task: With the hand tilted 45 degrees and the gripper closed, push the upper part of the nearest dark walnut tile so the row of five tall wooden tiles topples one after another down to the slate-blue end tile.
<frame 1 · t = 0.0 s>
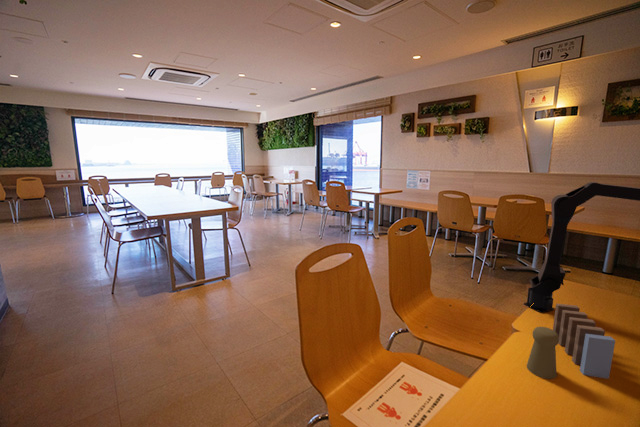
walnut tile 2: (570, 345, 84), on the table
walnut tile 4: (585, 364, 77), on the table
slate end tile: (594, 374, 73), on the table
walnut tile 3: (577, 354, 81), on the table
pepper shaker: (541, 371, 75), on the table
walnut tile 1: (563, 337, 88), on the table
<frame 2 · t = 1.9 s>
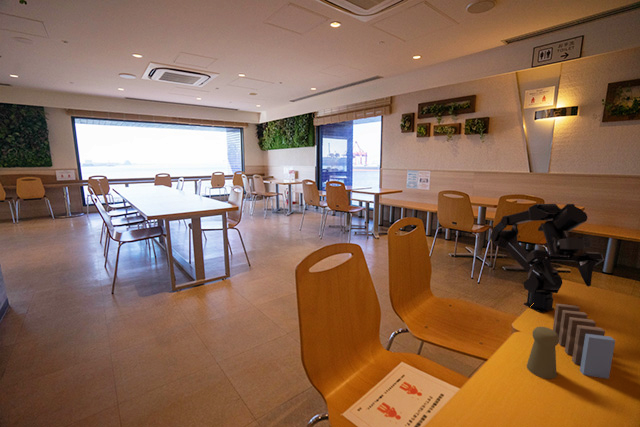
hand: (571, 285, 89), 15 cm above the table, tool tilted 40°, fingers open, 9 cm apart
nothing on the table moved.
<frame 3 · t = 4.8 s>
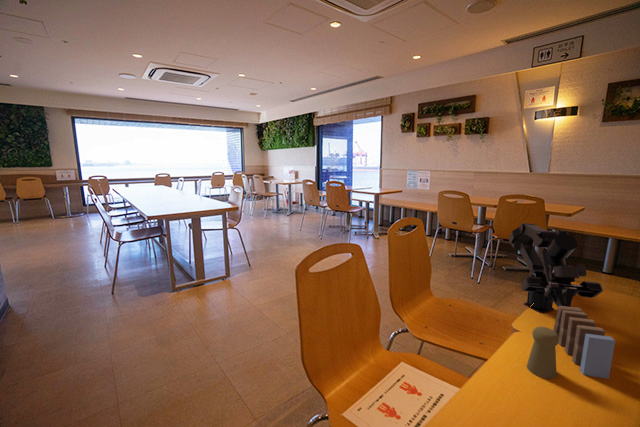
hand: (566, 314, 87), 7 cm above the table, tool tilted 45°, fingers closed
walnut tile 1: (563, 337, 88), on the table, tilted 9°
everything else where it was.
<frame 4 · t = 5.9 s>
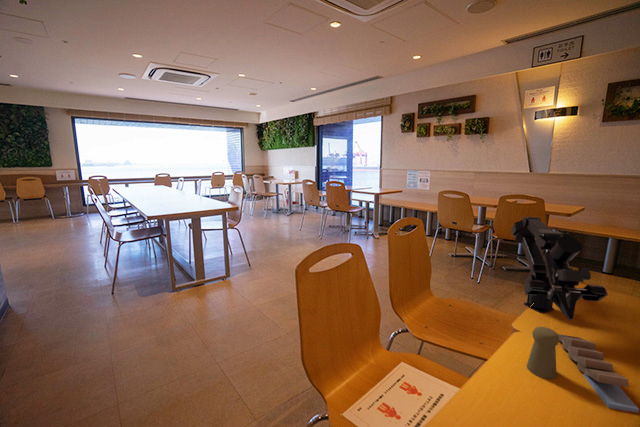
hand: (570, 319, 85), 7 cm above the table, tool tilted 45°, fingers closed
walnut tile 2: (573, 347, 83), point 1 cm above the table, tilted 67°, touching walnut tile 3
walnut tile 4: (589, 367, 74), point 1 cm above the table, tilted 69°, touching walnut tile 3
slate end tile: (596, 377, 72), on the table, tilted 90°
walnut tile 3: (580, 356, 79), point 1 cm above the table, tilted 67°, touching walnut tile 2, walnut tile 4
walnut tile 1: (567, 338, 87), point 1 cm above the table, tilted 68°
everything else where it was.
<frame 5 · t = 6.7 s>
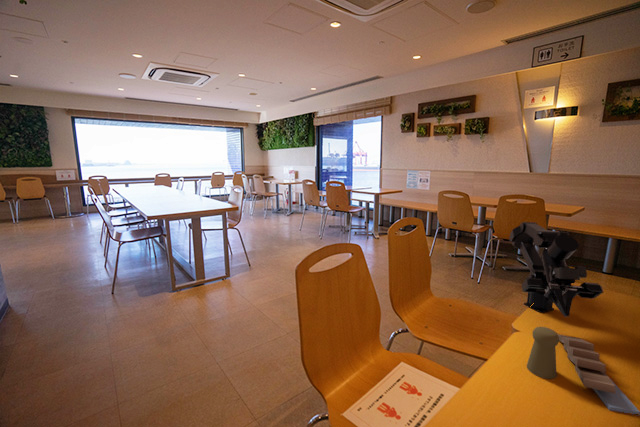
hand: (566, 316, 87), 7 cm above the table, tool tilted 45°, fingers closed
walnut tile 2: (575, 348, 82), point 1 cm above the table, tilted 68°, touching walnut tile 1, walnut tile 3
walnut tile 4: (588, 368, 73), point 1 cm above the table, tilted 77°, touching slate end tile, walnut tile 3
slate end tile: (596, 379, 72), on the table, tilted 90°, touching walnut tile 4
walnut tile 3: (579, 357, 78), point 1 cm above the table, tilted 68°, touching walnut tile 2, walnut tile 4
walnut tile 1: (568, 339, 86), point 1 cm above the table, tilted 68°, touching walnut tile 2
everything else where it was.
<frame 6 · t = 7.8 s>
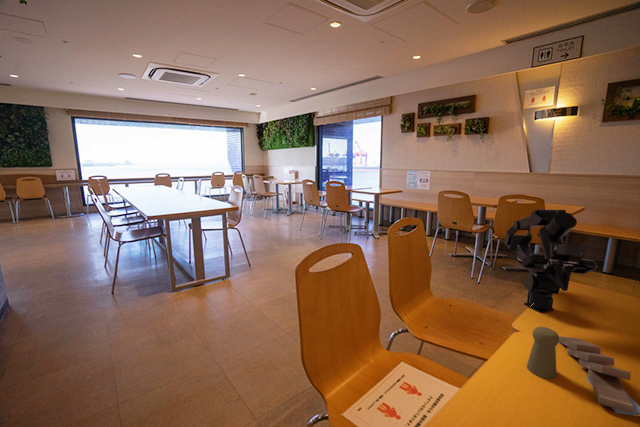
hand: (565, 290, 90), 13 cm above the table, tool tilted 40°, fingers closed
walnut tile 2: (578, 352, 80), point 1 cm above the table, tilted 66°, touching walnut tile 1
walnut tile 4: (602, 375, 70), point 2 cm above the table, tilted 90°, touching slate end tile
walnut tile 3: (591, 364, 75), point 1 cm above the table, tilted 64°
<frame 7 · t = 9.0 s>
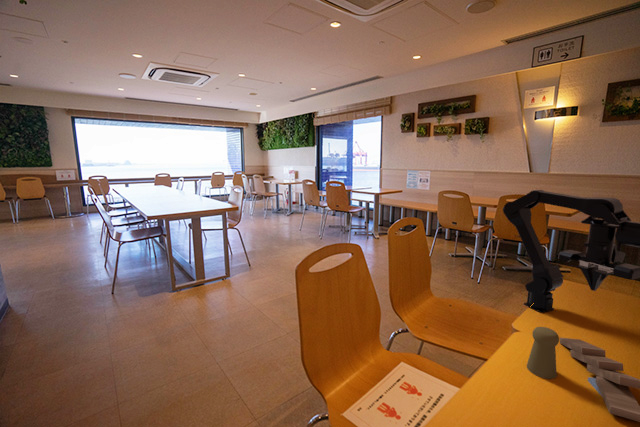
hand: (593, 290, 91), 12 cm above the table, tool pointing down, fingers closed
walnut tile 4: (610, 382, 68), point 2 cm above the table, tilted 90°, touching walnut tile 3
slate end tile: (600, 381, 71), on the table, tilted 90°
walnut tile 3: (598, 369, 73), point 1 cm above the table, tilted 68°, touching walnut tile 4
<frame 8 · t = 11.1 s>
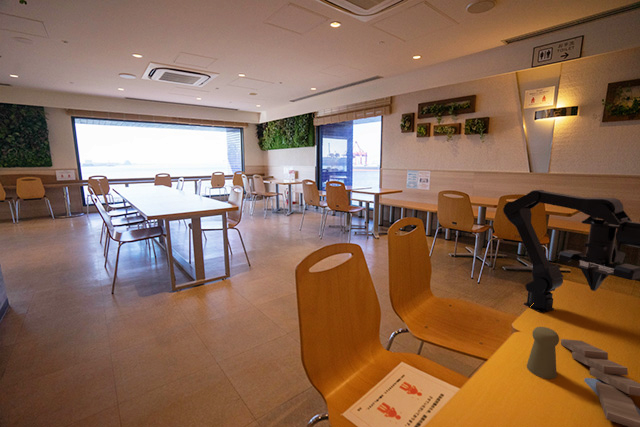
hand: (593, 290, 92), 12 cm above the table, tool pointing down, fingers closed
walnut tile 2: (582, 355, 79), point 1 cm above the table, tilted 73°, touching walnut tile 1, walnut tile 3
walnut tile 4: (611, 388, 67), point 2 cm above the table, tilted 90°, touching slate end tile
slate end tile: (596, 382, 71), on the table, tilted 90°, touching walnut tile 4
walnut tile 3: (600, 372, 72), point 1 cm above the table, tilted 73°, touching walnut tile 2
at the end: slate end tile tilted 90°; walnut tile 1 tilted 73° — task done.
